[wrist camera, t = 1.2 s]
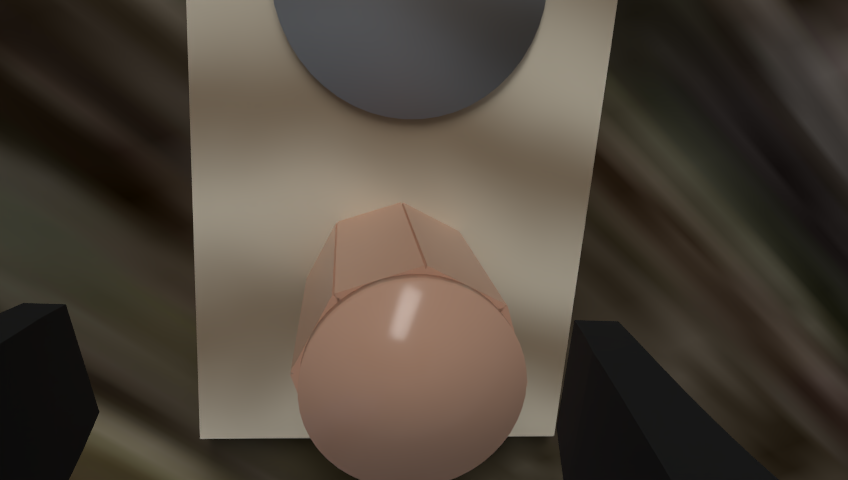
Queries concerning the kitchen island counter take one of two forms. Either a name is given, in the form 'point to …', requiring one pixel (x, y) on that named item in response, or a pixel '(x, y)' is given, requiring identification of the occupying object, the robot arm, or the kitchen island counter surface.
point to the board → (384, 168)
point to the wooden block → (405, 351)
